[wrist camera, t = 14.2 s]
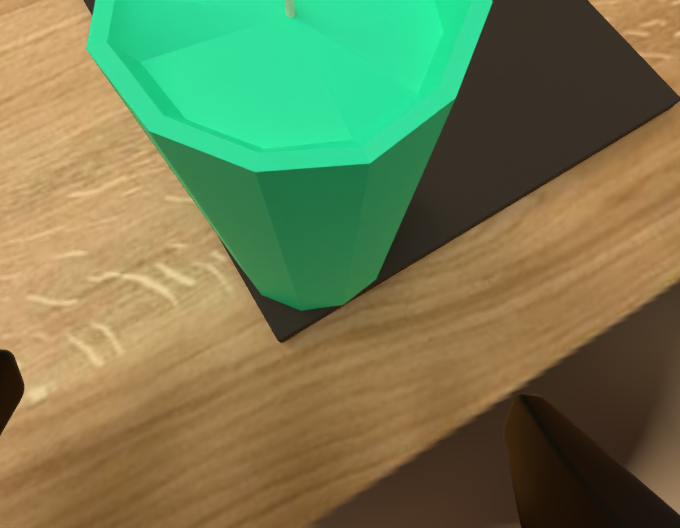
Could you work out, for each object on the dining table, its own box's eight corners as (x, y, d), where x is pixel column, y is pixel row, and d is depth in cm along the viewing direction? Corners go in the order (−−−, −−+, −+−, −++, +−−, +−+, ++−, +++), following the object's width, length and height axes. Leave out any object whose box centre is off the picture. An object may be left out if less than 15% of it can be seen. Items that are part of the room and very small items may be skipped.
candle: (396, 172, 17) (533, -262, 6) (383, 320, 16) (541, 124, 4) (247, 154, 17) (89, -311, 6) (218, 300, 16) (-85, 51, 4)
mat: (671, 107, 19) (682, 98, 19) (280, 343, 16) (278, 341, 15) (418, -162, 24) (421, -176, 23) (71, -23, 20) (64, -35, 20)
